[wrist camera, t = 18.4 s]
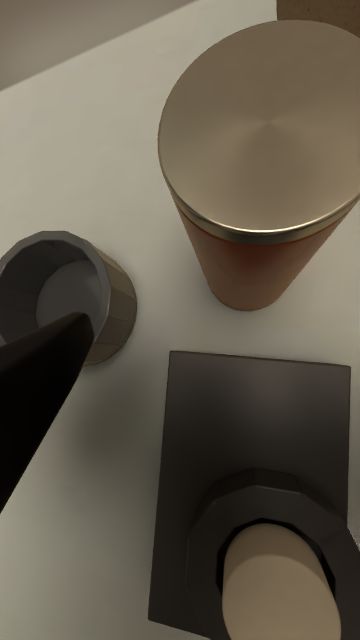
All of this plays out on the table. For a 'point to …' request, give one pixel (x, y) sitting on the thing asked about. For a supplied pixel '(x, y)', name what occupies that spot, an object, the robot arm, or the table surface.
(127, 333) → the capsule holder
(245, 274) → the orange metal cylinder
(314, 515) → the plate with ring holder
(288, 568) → the release button
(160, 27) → the table surface
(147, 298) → the table surface
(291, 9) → the ceramic mug
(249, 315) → the table surface
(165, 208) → the table surface
